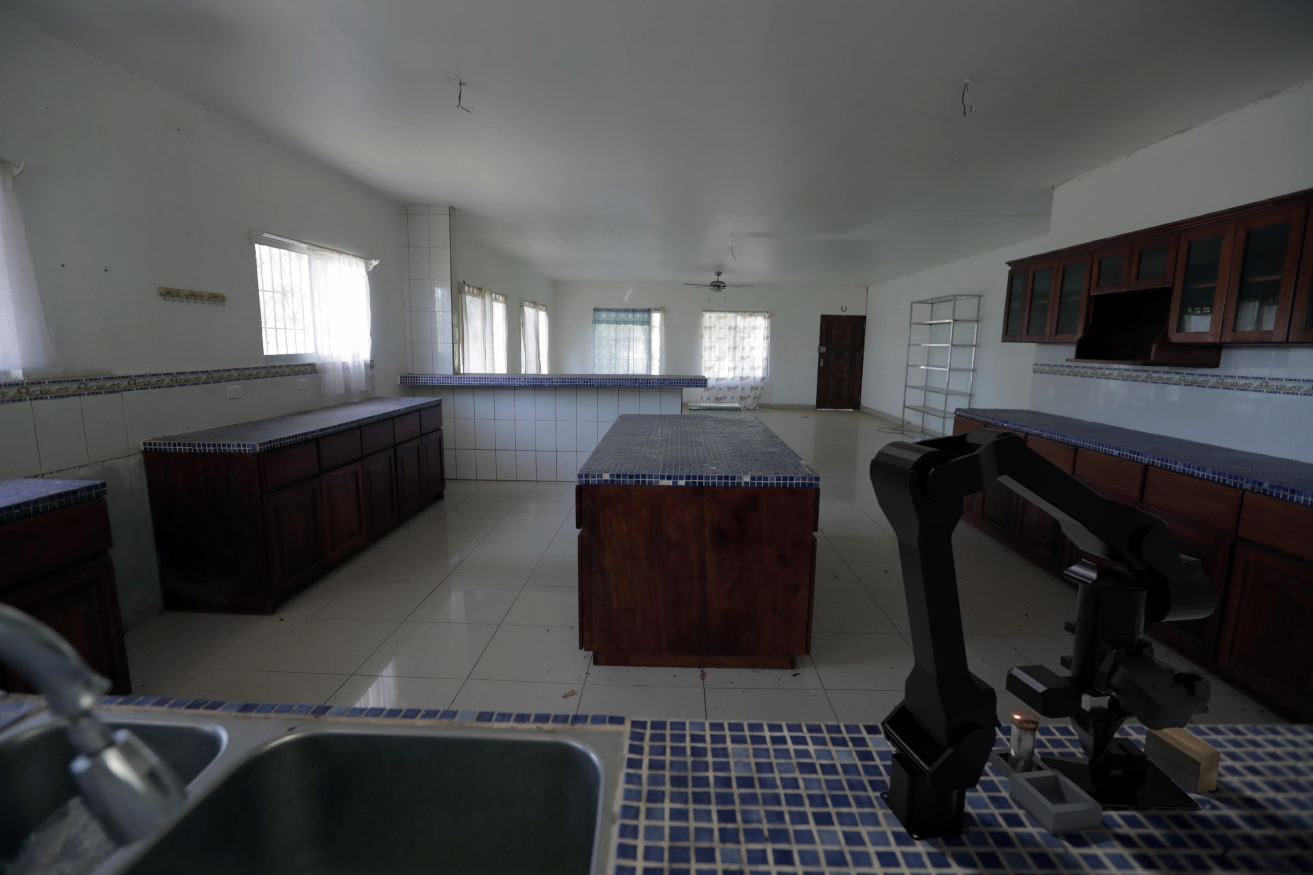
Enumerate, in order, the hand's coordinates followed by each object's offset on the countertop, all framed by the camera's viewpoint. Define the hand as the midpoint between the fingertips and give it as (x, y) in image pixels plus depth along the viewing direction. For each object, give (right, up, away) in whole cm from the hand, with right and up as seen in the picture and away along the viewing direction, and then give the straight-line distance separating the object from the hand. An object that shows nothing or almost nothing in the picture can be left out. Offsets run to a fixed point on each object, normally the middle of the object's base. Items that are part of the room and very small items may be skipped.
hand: (1091, 757), depth 65 cm
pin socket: (-6, -3, +3) cm, 7 cm away
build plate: (+4, -5, 0) cm, 7 cm away
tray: (-6, -4, -3) cm, 8 cm away
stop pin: (-6, -3, +3) cm, 7 cm away
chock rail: (+12, -4, +2) cm, 12 cm away
